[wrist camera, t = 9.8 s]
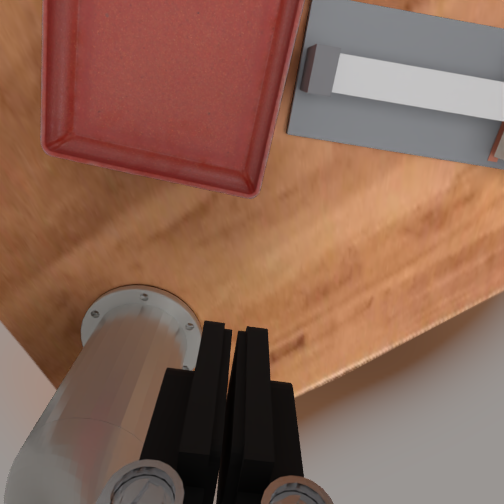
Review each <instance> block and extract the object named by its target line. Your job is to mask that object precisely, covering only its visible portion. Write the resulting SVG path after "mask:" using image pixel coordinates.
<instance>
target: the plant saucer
mask: <svg viewBox="0 0 504 504" xmlns="http://www.w3.org/2000/svg"><path fill="white" fill-rule="evenodd" d="M304 2H305V0H43V7H42V10H43V14H42V70H41V77H42V81H41V136H40V139H41V146H42V149H43V150H44V152H45V153H46V154H48V155H50V156H53V157H58V158H62V159H67V160H71V161H76V162H80V163H84V164H89V165H94V166H98V167H103V168H107V169H112V170H117V171H121V172H125V173H129V174H135V175H140V176H145V177H148V178H154V179H159V180H163V181H168V182H172V183H177V184H183V185H187V186H192V187H196V188H202V189H206V190H210V191H215V192H220V193H225V194H229V195H233V196H238V197H243V198H249V199H252V198H254V197H256V196H257V195H258V194H259V192H260V190H261V185H262V181H263V177H264V172H265V168H266V164H267V159H268V155H269V151H270V147H271V142H272V138H273V134H274V129H275V125H276V121H277V116H278V112H279V108H280V103H281V99H282V96H283V91H284V87H285V83H286V78H287V74H288V70H289V66H290V61H291V57H292V53H293V48H294V44H295V40H296V35H297V31H298V28H299V23H300V18H301V14H302V11H303V6H304Z"/></svg>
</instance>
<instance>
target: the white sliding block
mask: <svg viewBox="0 0 504 504" xmlns="http://www.w3.org/2000/svg"><path fill="white" fill-rule="evenodd" d="M494 157H496V158H499V159H502V160H504V132H503V135H502V137H501V140H500V142H499V145H498V147H497V150H496V152H495V155H494Z"/></svg>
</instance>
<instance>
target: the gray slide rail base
mask: <svg viewBox="0 0 504 504" xmlns="http://www.w3.org/2000/svg"><path fill="white" fill-rule="evenodd" d="M503 132H504V29H502V28H496V27H491V26H486V25H480V24H475V23H469V22H464V21H458V20H453V19H448V18H442V17H437V16H431V15H426V14H421V13H415V12H410V11H404V10H399V9H393V8H388V7H383V6H377V5H372V4H366V3H361V2H356V1H350V0H311V1H310V7H309V12H308V18H307V23H306V28H305V34H304V39H303V45H302V50H301V55H300V61H299V66H298V72H297V77H296V82H295V88H294V93H293V99H292V104H291V110H290V115H289V120H288V126H287V131H286V133H287V134H289V135H295V136H302V137H308V138H314V139H320V140H326V141H332V142H338V143H345V144H351V145H357V146H363V147H369V148H375V149H381V150H387V151H394V152H400V153H406V154H412V155H418V156H424V157H430V158H436V159H443V160H449V161H455V162H461V163H467V164H473V165H479V166H486V167H492V168H498V169H504V160H502V159H499V158H496V157H494V155H495V152H496V150H497V147H498V145H499V142H500V140H501V137H502V135H503Z"/></svg>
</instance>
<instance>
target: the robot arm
mask: <svg viewBox="0 0 504 504" xmlns="http://www.w3.org/2000/svg"><path fill="white" fill-rule="evenodd" d="M146 294H147V295H146ZM224 327H225V323H219V322H212V321H205V322H204V326H203V331H202V329H201V326H200V323H199V321H198V319H197V318H196V316H195V314H194V313H193V311H192V310H191V309H190V308H189V307H188V306H187V305H186V304H185V303H184V302H183V301H181V300H180V299H179V298H178V297H176V296H174V295H172V294H170V293H168V292H167V291H164V290H161V289H158V288H155V287H149V286H144V285H130V286H124V287H119V288H116V289H113V290H110V291H108V292H107V293H105V294H103V295H102V296H100V297H99V298H98V299H97V300H96V301H95V302H94V303H93V304H92V305H91V307H90V308H89V309H88V311H87V313H86V315H85V317H84V319H83V321H82V326H81V341H82V345H83V349H82V350H81V352H80V354H79V355H78V357H77V359H76V360H75V362H74V363H73V365H72V367H71V368H70V370H69V371H68V373H67V375H66V376H65V378H64V380H63V381H62V383H61V384H60V386H59V388H58V389H57V391H56V393H55V394H54V396H53V397H52V399H51V401H50V402H49V404H48V405H47V407H46V409H45V410H44V412H43V414H42V415H41V417H40V418H39V420H38V422H37V423H36V425H35V427H34V428H33V430H32V431H31V433H30V435H29V436H28V438H27V439H26V441H25V443H24V445H23V446H22V448H21V449H20V451H19V453H18V455H17V457H16V458H15V460H14V462H13V465H12V467H11V469H10V472H9V475H8V479H7V483H6V488H5V495H4V504H213V501H214V495H215V489H216V484H217V478H218V473H219V478H218V490H217V501H216V504H333V502H332V500H331V498H330V497H329V496H328V494H327V493H326V492H325V491H324V490H323V488H321V487H320V486H318V485H317V484H316V483H314V482H313V481H311V480H309V479H306V478H304V474H303V466H302V458H301V450H300V442H299V433H298V425H297V417H296V410H295V401H294V392H293V386H292V384H291V383H286V382H278V381H271V380H270V363H269V344H268V330H267V329H264V328H256V327H249V326H247V328H246V332H245V331H238V335H237V341H236V347H235V353H234V359H233V365H232V370H231V376H230V382H229V388H228V394H227V386H228V374H229V362H230V350H231V338H232V330H230V329H224ZM195 366H196V367H195ZM194 368H195V371H192V370H193V369H194ZM226 397H227V400H226Z"/></svg>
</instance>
